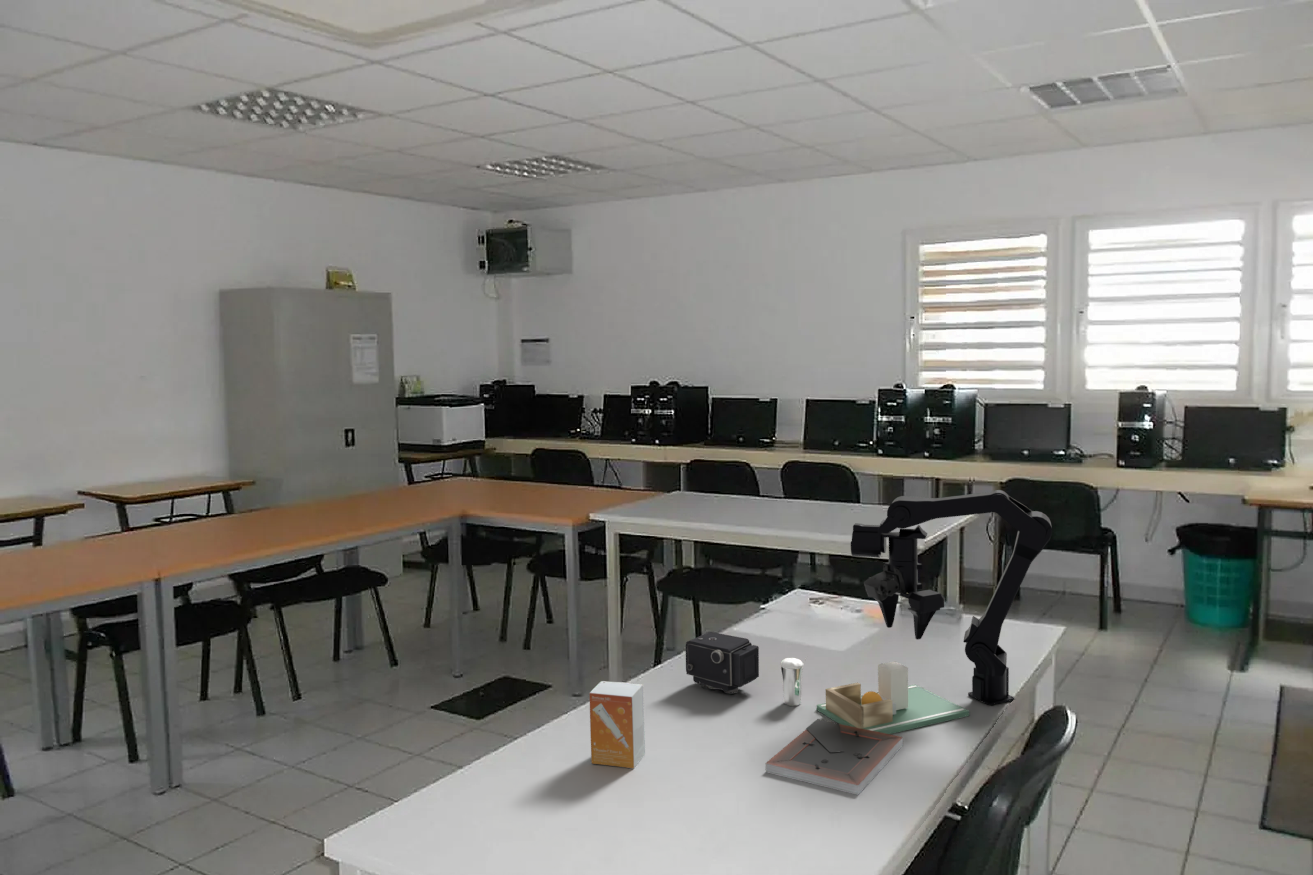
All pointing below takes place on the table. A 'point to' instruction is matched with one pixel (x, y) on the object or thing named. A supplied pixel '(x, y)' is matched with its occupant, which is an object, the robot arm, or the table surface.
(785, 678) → the milkshake
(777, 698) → the table surface
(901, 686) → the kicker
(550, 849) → the table surface
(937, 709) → the board
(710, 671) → the camera
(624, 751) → the small box
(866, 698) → the ball
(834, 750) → the book
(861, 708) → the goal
